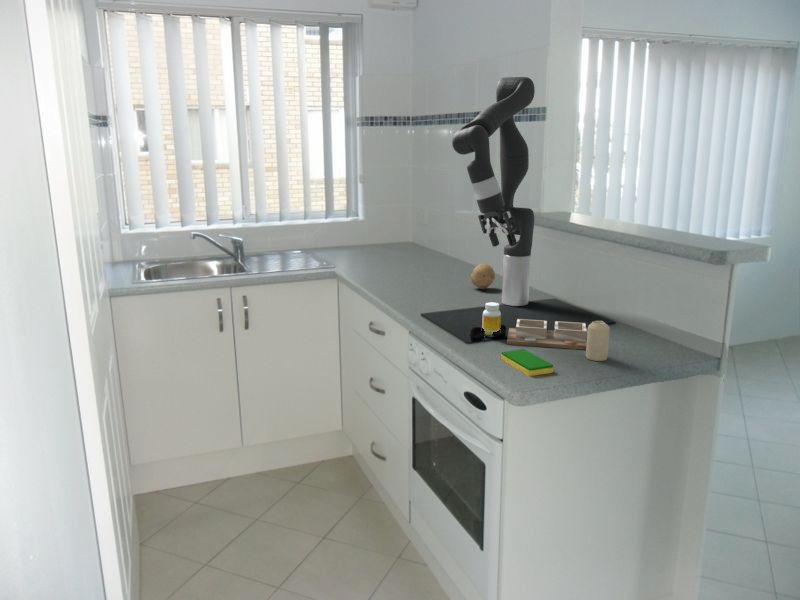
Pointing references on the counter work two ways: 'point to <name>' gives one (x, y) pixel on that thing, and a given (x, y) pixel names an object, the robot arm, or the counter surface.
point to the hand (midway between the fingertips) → (504, 245)
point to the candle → (597, 341)
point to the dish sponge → (527, 362)
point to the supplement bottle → (491, 318)
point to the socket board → (548, 334)
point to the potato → (482, 276)
